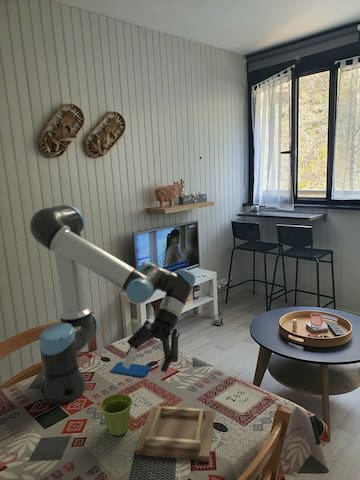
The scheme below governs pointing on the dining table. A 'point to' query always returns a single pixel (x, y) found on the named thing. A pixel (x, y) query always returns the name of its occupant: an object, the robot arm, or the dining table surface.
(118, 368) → the smartphone
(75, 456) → the dining table surface
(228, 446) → the dining table surface
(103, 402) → the plant pot
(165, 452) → the pot stand
